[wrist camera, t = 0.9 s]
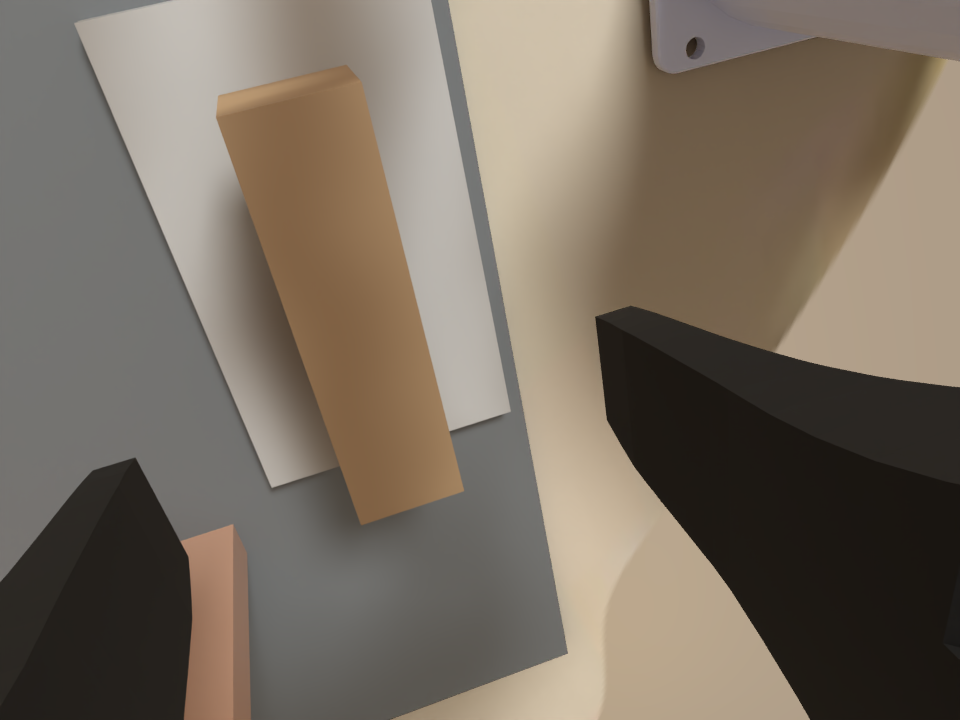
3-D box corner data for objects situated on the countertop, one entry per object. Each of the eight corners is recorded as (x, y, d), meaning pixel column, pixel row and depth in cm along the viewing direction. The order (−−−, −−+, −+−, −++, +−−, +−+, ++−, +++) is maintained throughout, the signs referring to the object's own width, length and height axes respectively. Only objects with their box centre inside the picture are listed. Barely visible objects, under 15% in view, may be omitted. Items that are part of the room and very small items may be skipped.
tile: (232, 524, 22) (233, 784, 15) (250, 560, 23) (257, 823, 16) (-59, 618, 21) (-198, 944, 14) (-30, 653, 22) (-149, 978, 15)
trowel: (414, -54, 16) (478, -50, 12) (504, 400, 23) (566, 507, 18) (79, 20, 15) (21, 52, 11) (270, 474, 22) (279, 606, 17)
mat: (410, -168, 16) (416, -170, 15) (561, 640, 29) (567, 653, 29) (-793, 71, 13) (-835, 77, 12) (-5, 850, 26) (-10, 868, 26)
